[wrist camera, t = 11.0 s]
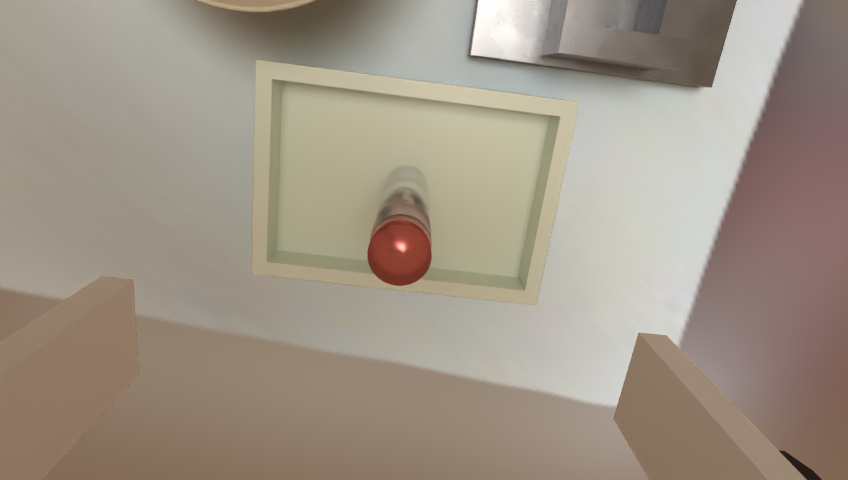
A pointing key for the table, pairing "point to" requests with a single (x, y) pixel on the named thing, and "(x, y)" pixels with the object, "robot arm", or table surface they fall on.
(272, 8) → the bowl
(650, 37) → the block
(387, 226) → the pin
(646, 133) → the table surface
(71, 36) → the table surface
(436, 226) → the tray
